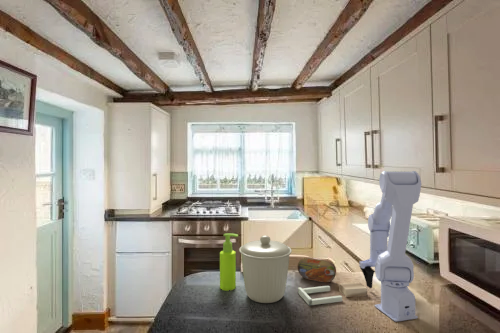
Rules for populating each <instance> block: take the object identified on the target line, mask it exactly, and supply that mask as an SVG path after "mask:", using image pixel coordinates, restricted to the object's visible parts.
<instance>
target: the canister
mask: <svg viewBox="0 0 500 333" xmlns="http://www.w3.org/2000/svg"><path fill="white" fill-rule="evenodd" d="M238 252H239V253H240V256H241V265H242V275H243V282H244V288H245V289H244V290H245V293H246V296H248V298H249V299H250V300H252V301H253V302H256V303H260V304H272V303H276V302H279V301H280V300H281V299H283V297H284V295H285V294H286V293H285V292H286V288H287V282H288V281H287V280H288V275H289V274H288V273H289V266H290V265H289V264H290V263H289V262H290V255H291V254H292V252H293V250H292V248H291V247H290V246H288V245H287V244H285V243H284V242H280V241H277V240H271V237H270V236H269V235H262V236H260V238H259V240H253V241H248V242H246V243H244V244H243V245H241V246H240V247H239V248H238Z"/></svg>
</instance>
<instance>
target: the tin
mask: <svg viewBox="0 0 500 333" xmlns="http://www.w3.org/2000/svg"><path fill="white" fill-rule="evenodd" d="M298 261H299V262H298V263H297V271H298V273H299V275H300V276H301V277H302V278H303V279H306V280H309V281H315V282H320V283H331V282H332V281H334V279H335V277H336V275H337V268H336V266H335V264H334V263H333V262H332V261H331V260H329V259H324V258H319V257H318V258H316V257H310V256H306V257H303V258H302V259H300V260H298Z"/></svg>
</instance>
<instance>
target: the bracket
mask: <svg viewBox="0 0 500 333" xmlns="http://www.w3.org/2000/svg"><path fill="white" fill-rule="evenodd" d="M323 292H331V286H330V285H322V286H321V285H320V286H315V287H314V286H313V287H305V288H302V287H301V286H300V287H297V294H298V295H299V296H300V297H301V298H302V299H303V301H305V302H306V304H307V305H308V306H315V305H321V304H322V305H323V304H331V303H338V302H340V303H341V302H343V296H342V295H333V296H325V297H318V298H317V297H316V298H311V296H309V294H314V293H316V294H317V293H323Z"/></svg>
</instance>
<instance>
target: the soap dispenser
mask: <svg viewBox="0 0 500 333" xmlns="http://www.w3.org/2000/svg"><path fill="white" fill-rule="evenodd" d="M222 237H225V239H224V241H223V243H222V246H223V247H222V250H221V251H220V252H219V289H220V290H221V289H222V291H227V292H228V291H229V290H230V291H233V290H235V289H236V287H237V285H236V284H237V282H236V281H237V278H236V276H237V272H236V271H237V270H236V269H237V267H236V266H237V265H236V264H237V262H236V260H237V256H236V254H237V251H235V250H233V242H232V241H231V237H234V238H237V237H239V234H237V233H232V232H229V233H228V232H227V233H223V236H222Z"/></svg>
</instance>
